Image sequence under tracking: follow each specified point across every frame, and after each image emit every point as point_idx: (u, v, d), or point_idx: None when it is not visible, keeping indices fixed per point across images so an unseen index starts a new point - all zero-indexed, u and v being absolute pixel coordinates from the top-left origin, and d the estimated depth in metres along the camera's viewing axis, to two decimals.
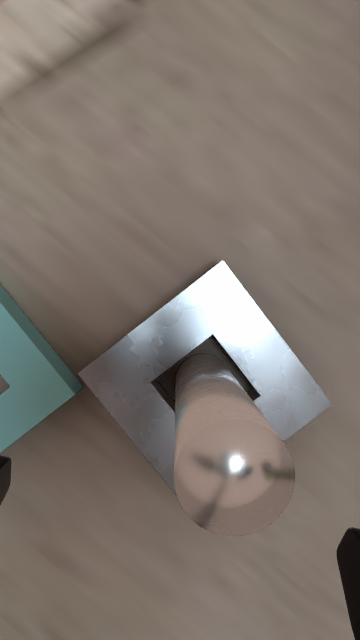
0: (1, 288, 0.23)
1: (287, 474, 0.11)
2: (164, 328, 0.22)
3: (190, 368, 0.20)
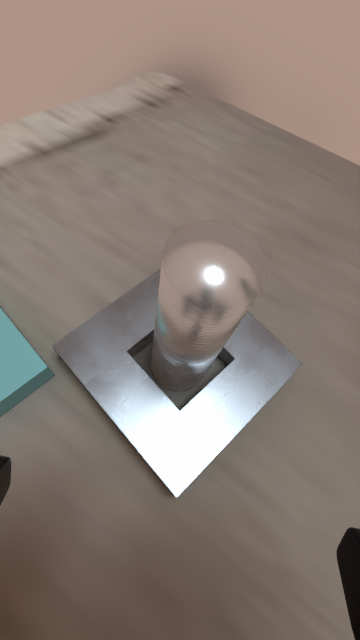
0: None
1: (259, 258, 0.13)
2: (138, 302, 0.24)
3: None
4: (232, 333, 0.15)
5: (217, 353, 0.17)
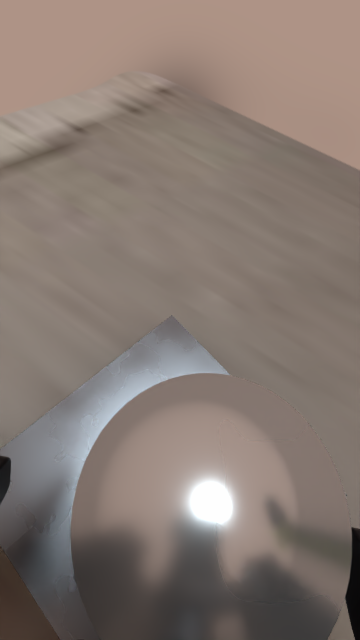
0: None
1: (328, 486, 0.05)
2: (100, 400, 0.16)
3: None
4: None
5: None
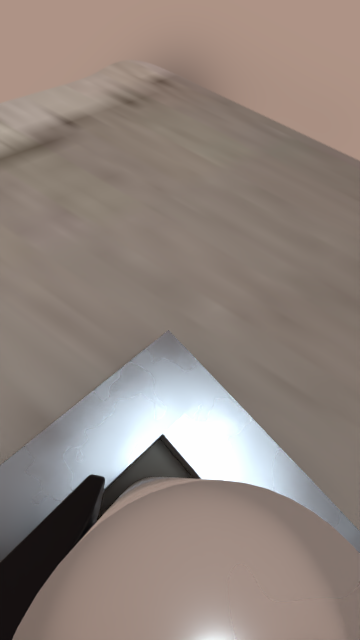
0: None
1: None
2: (86, 430, 0.14)
3: None
4: None
5: None
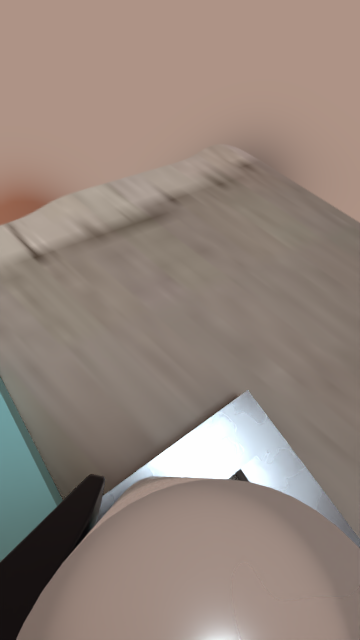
0: (13, 404, 0.22)
1: None
2: (188, 458, 0.20)
3: (127, 489, 0.12)
4: None
5: None
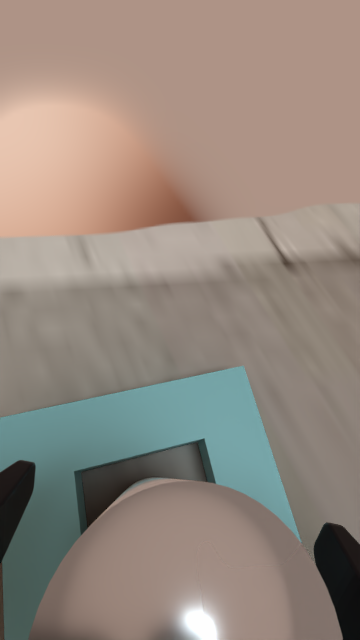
0: None
1: (321, 626, 0.04)
2: None
3: None
4: None
5: None
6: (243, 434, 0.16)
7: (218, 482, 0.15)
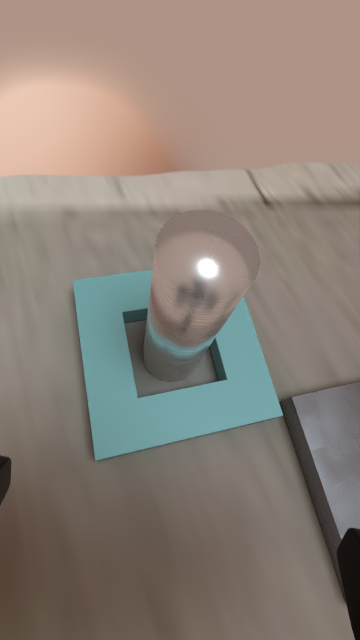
0: None
1: (252, 249, 0.13)
2: None
3: None
4: (223, 324, 0.16)
5: (208, 344, 0.18)
6: None
7: None
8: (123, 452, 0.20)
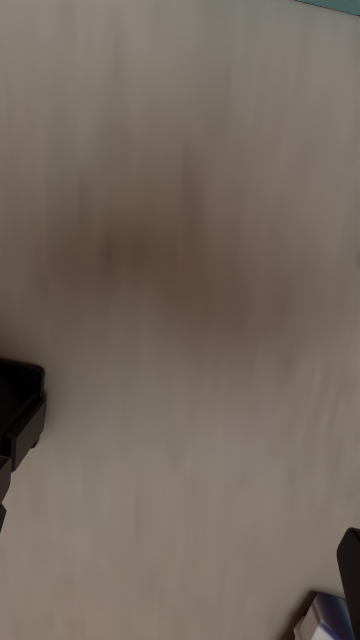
0: None
1: None
2: None
3: None
4: None
5: None
6: None
7: None
8: None
